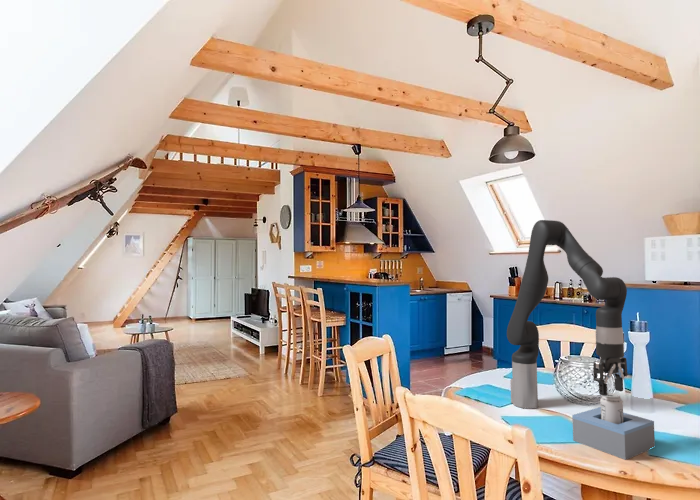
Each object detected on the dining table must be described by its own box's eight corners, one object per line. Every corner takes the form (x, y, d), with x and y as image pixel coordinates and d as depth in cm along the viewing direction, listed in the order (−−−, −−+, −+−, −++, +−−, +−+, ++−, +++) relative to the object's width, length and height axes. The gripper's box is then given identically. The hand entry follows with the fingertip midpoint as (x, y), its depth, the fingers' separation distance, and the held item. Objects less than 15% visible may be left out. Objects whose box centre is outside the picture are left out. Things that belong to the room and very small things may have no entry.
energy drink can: (622, 449, 131) (620, 399, 131) (600, 444, 135) (598, 395, 135) (625, 443, 136) (624, 394, 136) (604, 438, 139) (602, 391, 140)
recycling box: (573, 440, 138) (572, 415, 138) (602, 430, 146) (601, 406, 146) (625, 459, 124) (624, 431, 125) (655, 447, 132) (653, 421, 132)
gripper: (610, 337, 143) (612, 386, 142) (584, 341, 136) (585, 393, 135) (634, 340, 136) (636, 392, 136) (608, 345, 129) (610, 399, 129)
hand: (611, 392), depth 136 cm, fingers open, 8 cm apart
